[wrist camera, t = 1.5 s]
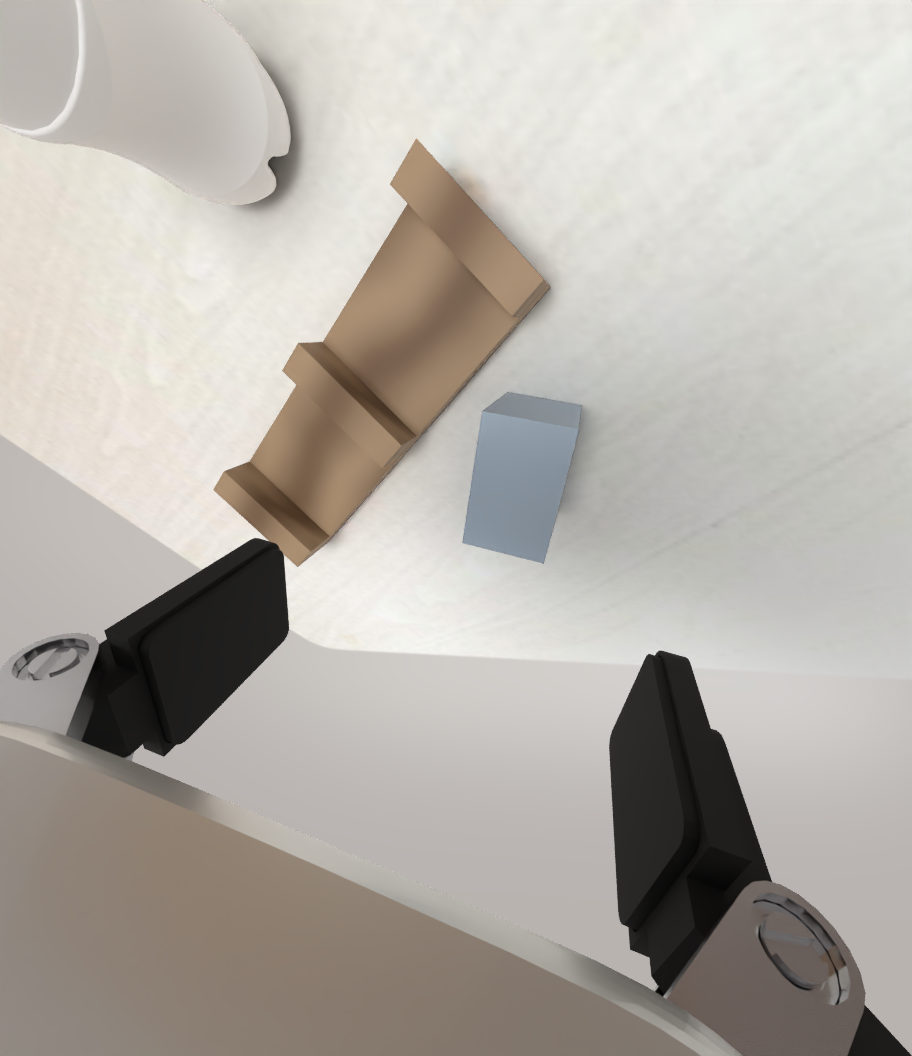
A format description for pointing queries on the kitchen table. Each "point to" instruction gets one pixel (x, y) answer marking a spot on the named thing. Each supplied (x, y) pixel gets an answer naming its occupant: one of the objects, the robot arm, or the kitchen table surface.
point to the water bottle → (145, 90)
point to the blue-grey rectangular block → (520, 474)
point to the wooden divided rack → (385, 362)
